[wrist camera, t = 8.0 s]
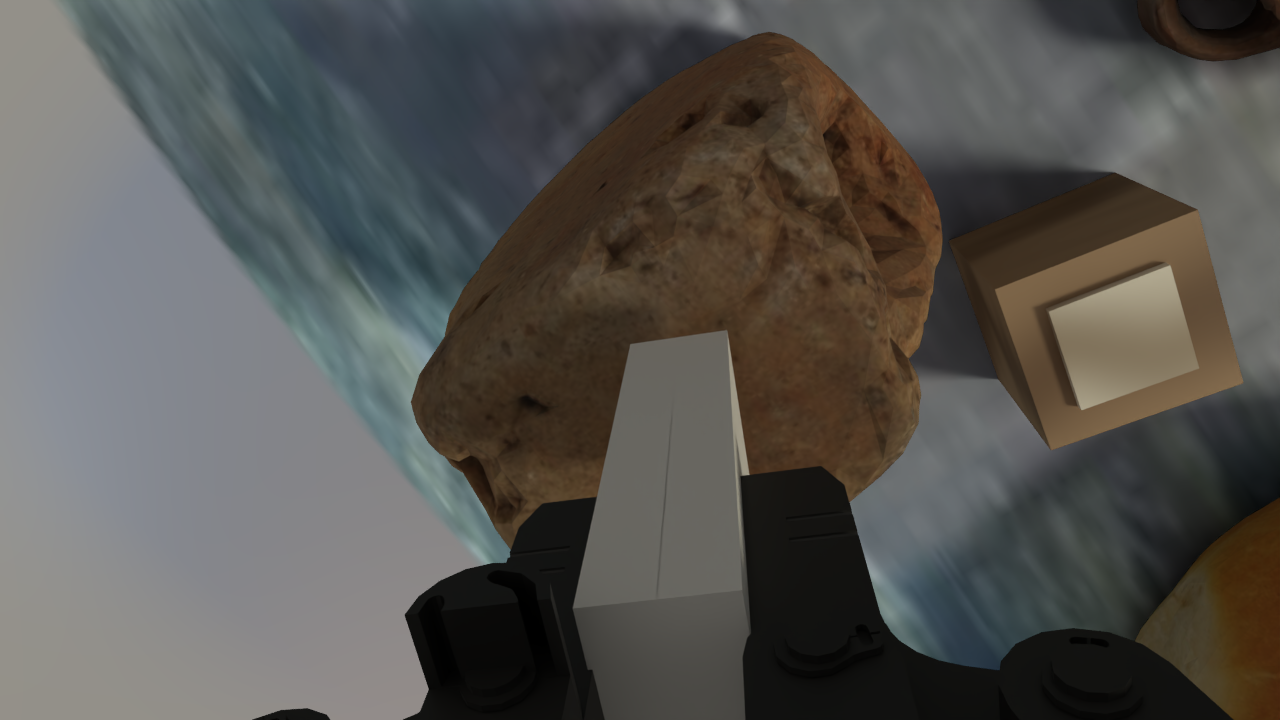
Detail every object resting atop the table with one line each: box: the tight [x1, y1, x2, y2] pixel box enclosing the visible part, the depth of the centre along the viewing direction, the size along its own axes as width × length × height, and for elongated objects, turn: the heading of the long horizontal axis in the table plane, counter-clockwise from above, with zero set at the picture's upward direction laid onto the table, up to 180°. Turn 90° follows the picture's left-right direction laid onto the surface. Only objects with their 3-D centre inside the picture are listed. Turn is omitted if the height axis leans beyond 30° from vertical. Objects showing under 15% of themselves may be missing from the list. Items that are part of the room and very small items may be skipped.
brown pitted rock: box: [411, 32, 943, 549], centre depth 24 cm, size 11×8×20 cm
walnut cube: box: [949, 173, 1243, 450], centre depth 31 cm, size 6×6×6 cm
